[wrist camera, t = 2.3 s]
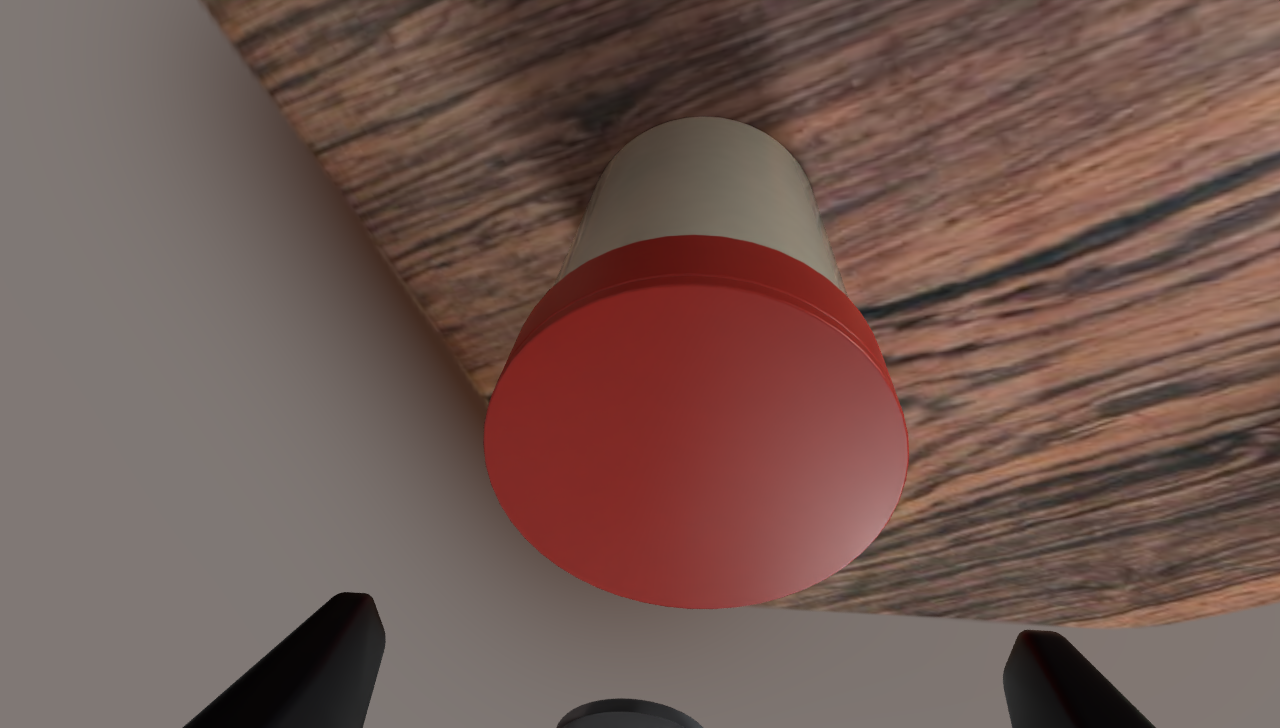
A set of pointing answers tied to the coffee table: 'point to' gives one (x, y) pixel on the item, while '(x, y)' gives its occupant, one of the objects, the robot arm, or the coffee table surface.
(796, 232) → the jar
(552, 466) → the lid
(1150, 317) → the coffee table surface
